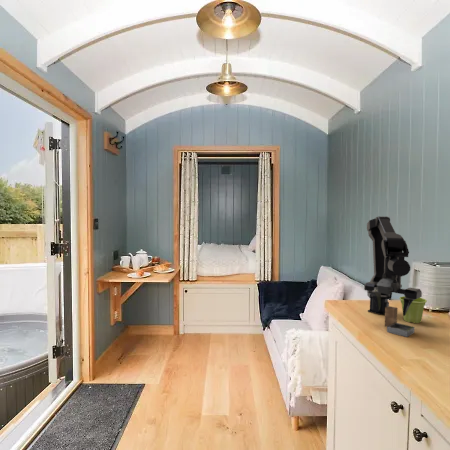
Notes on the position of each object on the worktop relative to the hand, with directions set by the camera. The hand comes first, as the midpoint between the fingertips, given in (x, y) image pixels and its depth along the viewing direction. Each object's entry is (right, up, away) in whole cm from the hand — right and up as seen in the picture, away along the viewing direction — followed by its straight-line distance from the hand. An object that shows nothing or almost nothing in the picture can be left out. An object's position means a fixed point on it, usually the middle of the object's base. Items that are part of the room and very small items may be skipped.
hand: (391, 312), depth 133 cm
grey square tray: (0, -5, -6) cm, 8 cm away
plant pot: (+11, -5, +7) cm, 14 cm away
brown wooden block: (0, -5, 0) cm, 5 cm away
